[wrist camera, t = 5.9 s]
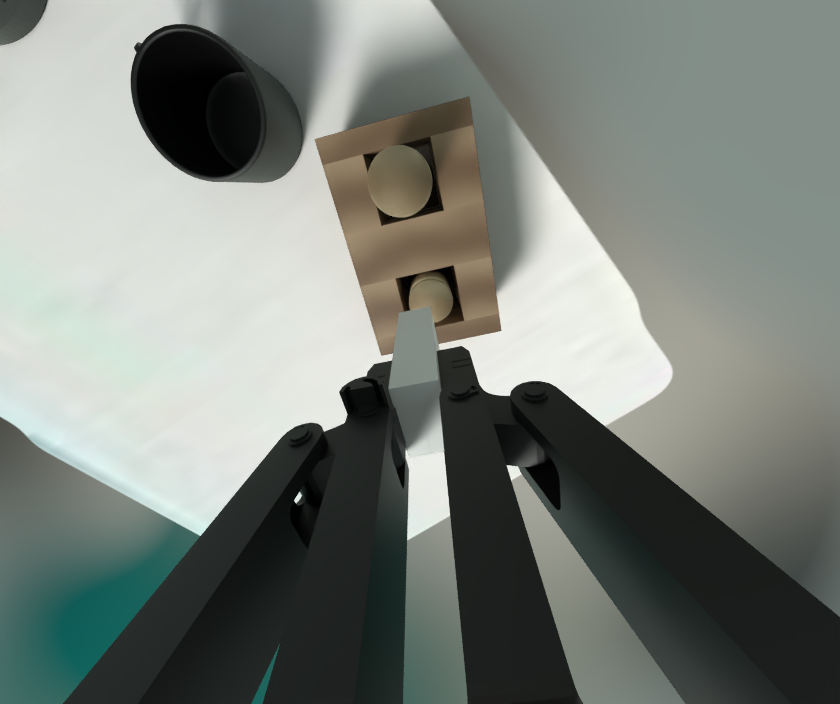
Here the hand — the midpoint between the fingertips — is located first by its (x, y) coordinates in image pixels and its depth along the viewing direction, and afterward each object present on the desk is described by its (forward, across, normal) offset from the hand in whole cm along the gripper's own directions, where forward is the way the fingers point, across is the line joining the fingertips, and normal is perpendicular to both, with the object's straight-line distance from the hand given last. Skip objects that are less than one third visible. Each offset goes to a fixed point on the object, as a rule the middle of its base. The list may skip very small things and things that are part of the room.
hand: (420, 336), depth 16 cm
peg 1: (+17, 0, +6) cm, 18 cm away
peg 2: (+23, 0, -4) cm, 23 cm away
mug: (+24, -14, +15) cm, 32 cm away
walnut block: (+24, 0, +1) cm, 24 cm away
